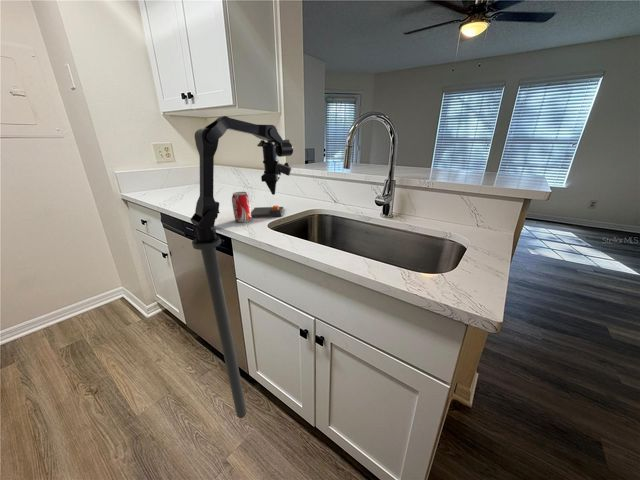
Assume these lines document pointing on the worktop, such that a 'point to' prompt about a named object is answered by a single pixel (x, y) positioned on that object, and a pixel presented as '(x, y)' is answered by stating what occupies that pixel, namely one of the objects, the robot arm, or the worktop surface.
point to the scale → (266, 212)
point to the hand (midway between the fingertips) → (273, 194)
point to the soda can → (241, 206)
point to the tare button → (275, 207)
